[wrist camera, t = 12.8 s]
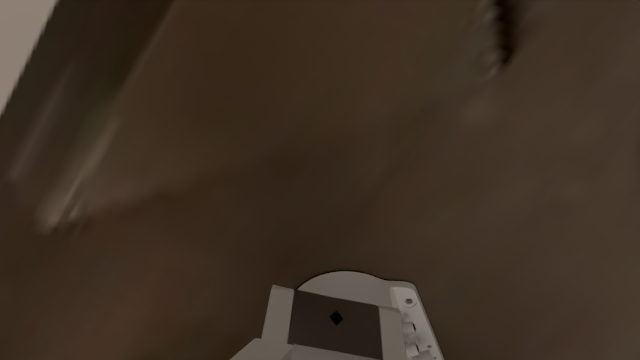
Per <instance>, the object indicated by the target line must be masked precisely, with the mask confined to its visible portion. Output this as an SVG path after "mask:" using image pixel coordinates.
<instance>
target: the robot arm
mask: <svg viewBox="0 0 640 360" xmlns="http://www.w3.org/2000/svg"><path fill="white" fill-rule="evenodd" d="M407 299H410V300H407ZM230 360H444V357H443V354H442V352H441V349H440V347H439V344H438V342H437V339H436V337H435V334H434V332H433V329H432V327H431V324H430V322H429V319H428V317H427V314H426V312H425V309H424V307H423V304H422V302H421V299H420V297H419V294H418V292H417V289H416V287H415V286H414V285H413V284H412V283H409V282H404V281H386V280H382V279H379V278H377V277H374V276H371V275H368V274H364V273H359V272H350V271H341V272H332V273H327V274H323V275H320V276H317V277H315V278H313V279H311V280H309V281H307V282H306V283H304V284H303V285H302V286H300V287H299V288H298V289H290V288H285V287H281V286H276V285H273V286H272V289H271V293H270V298H269V302H268V307H267V312H266V317H265V321H264V326H263V331H262V336H261V339H258V338H255V339H253V340H252V341H251V342H250V343H249V344H248V345H246V346H245V347H244V348H243V349H242V350H241V351H239V352H238V353H237V354H236V355H235V356H234V357H232V358H231V359H230Z"/></svg>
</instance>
